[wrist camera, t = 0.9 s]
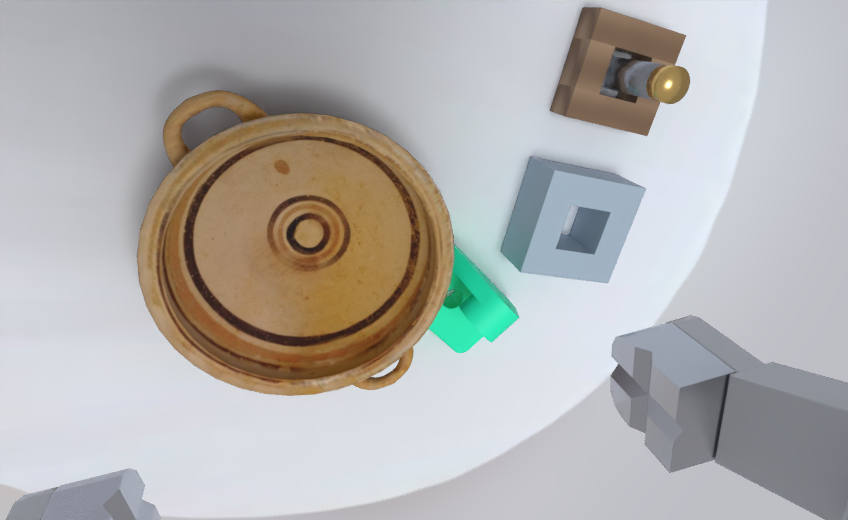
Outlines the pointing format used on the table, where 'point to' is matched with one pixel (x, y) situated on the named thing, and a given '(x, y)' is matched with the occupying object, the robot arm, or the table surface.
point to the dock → (593, 227)
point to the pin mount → (592, 59)
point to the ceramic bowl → (293, 251)
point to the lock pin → (647, 79)
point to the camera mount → (471, 308)
